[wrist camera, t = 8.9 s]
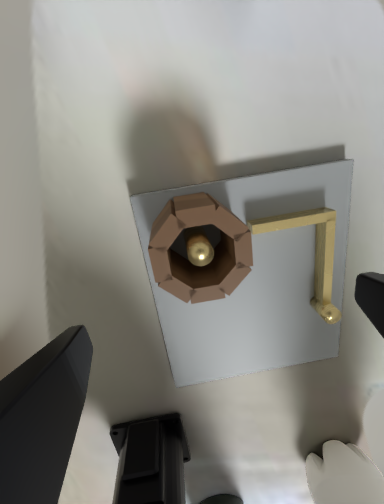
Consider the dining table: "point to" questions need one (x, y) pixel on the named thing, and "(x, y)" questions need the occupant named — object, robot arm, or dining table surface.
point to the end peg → (198, 246)
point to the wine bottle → (223, 500)
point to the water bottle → (344, 476)
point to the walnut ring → (225, 253)
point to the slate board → (256, 277)
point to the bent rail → (323, 251)
